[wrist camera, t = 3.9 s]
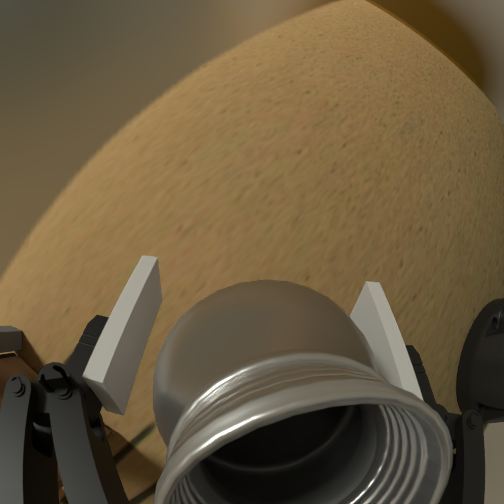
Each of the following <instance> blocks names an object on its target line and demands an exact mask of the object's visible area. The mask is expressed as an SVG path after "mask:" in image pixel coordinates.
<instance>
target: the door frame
mask: <svg viewBox="0 0 504 504" xmlns="http://www.w3.org/2000/svg"><path fill="white" fill-rule="evenodd" d="M17 350H22V331H21V330H19V329H16V328H14V327H12V326H0V353H4V352H11V351H17Z"/></svg>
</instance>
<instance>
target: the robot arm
mask: <svg viewBox="0 0 504 504" xmlns="http://www.w3.org/2000/svg"><path fill="white" fill-rule="evenodd" d="M161 303H162V293H161V284H160V275H159V265H158V257H152V256H145V255H142V257H141V259H140V261H139V262H138V264H137V266H136V268H135V269H134V271H133V273H132V275H131V277H130V278H129V280H128V282H127V284H126V286H125V288H124V290H123V291H122V293H121V295H120V297H119V299H118V301H117V303H116V305H115V307H114V309H113V311H112V313H111V315H110V317H104V316H100V315H96V316H95V317H94V318H93V319H92V320H91V321H90V322H89V323H88V324H87V326H86V328H85V330H84V332H83V335H82V336H81V338H80V340H79V343H78V344H77V346H76V348H75V350H74V352H73V354H72V356H71V358H70V360H69V362H68V365H67V367H66V366H65V365H63V364H61V363H57V362H52V363H49V364H47V365H45V366H44V367H43V368H42V369H41V371H40V372H39V374H38V379H37V381H38V382H31V381H30V380H29V379H28V378H27V377H26V376H25V375H23V374H15V375H13V376H11V377H10V378H9V379H8V381H7V383H6V386H5V390H4V394H3V399H2V405H1V410H0V504H59V494H58V467H59V471H60V475H61V479H62V483H63V487H64V490H65V494H66V497H67V500H68V503H69V504H129V501H128V499H127V496H126V494H125V491H124V489H123V486H122V483H121V480H120V478H119V475H118V472H117V469H116V466H115V463H114V459H113V456H112V453H111V450H110V446H109V443H108V439H107V435H106V431H105V427H104V423H103V419H102V416H101V414H100V410H101V407H102V405H103V407H104V408H105V409H106V410H107V411H110V412H113V413H116V414H120V415H123V416H124V414H125V410H126V407H127V403H128V400H129V397H130V393H131V390H132V387H133V384H134V380H135V377H136V374H137V371H138V368H139V365H140V362H141V359H142V356H143V353H144V350H145V347H146V344H147V341H148V338H149V336H150V333H151V330H152V327H153V324H154V322H155V319H156V316H157V313H158V311H159V308H160V305H161ZM349 317H350V318H351V319H352V320H353V322H354V323H355V324H356V325H357V327H358V328H359V329H360V330H361V332H362V333H363V334H364V335H365V337H366V339H367V341H368V343H369V345H370V347H371V349H372V351H373V353H374V357H375V361H376V365H377V369H378V373H379V374H380V375H381V376H383V377H384V378H385V379H387V380H388V382H389V383H390V384H392V385H394V386H397V387H399V388H401V389H404V390H406V391H409V392H412V393H413V394H415V395H416V396H417V397H419V398H420V399H421V400H423V401H424V402H425V403H427V404H428V405H429V406H430V407H431V408H432V409H433V410H435V411H436V412H437V413H438V414H439V415H440V417H441V418H442V420H443V421H444V423H445V424H446V426H447V427H448V430H449V433H450V437H451V441H452V445H453V449H455V448H456V454H454V453H453V463H452V468H451V473H450V477H449V480H448V484H447V486H446V488H445V491H444V493H443V495H442V497H441V499H440V501H439V503H438V504H484V493H485V450H484V435H483V425H482V423H497V422H504V298H502V299H496V300H493V301H491V302H490V303H489V304H487V305H486V306H485V307H484V308H483V309H482V311H481V312H480V313H479V315H478V316H477V318H476V319H475V321H474V323H473V325H472V327H471V329H470V331H469V333H468V336H467V338H466V341H465V344H464V347H463V350H462V354H461V358H460V362H459V368H458V375H457V399H458V404H459V407H460V410H461V411H462V413H463V414H462V415H459V414H453V413H448V412H447V410H446V409H445V408H444V407H443V406H442V405H440V404H437V403H436V401H435V399H434V396H433V392H432V389H431V386H430V383H429V380H428V378H427V375H426V374H425V369H424V366H422V364H423V363H422V361H421V358H420V355H419V353H418V352H417V351H416V350H415V348H414V347H413V346H412V345H405V344H404V341H403V339H402V336H401V333H400V331H399V328H398V326H397V323H396V321H395V318H394V316H393V313H392V311H391V308H390V306H389V304H388V301H387V299H386V297H385V294H384V292H383V290H382V287H381V285H380V283H378V282H368V281H366V283H365V285H364V287H363V289H362V291H361V294H360V296H359V298H358V300H357V302H356V304H355V306H354V308H353V310H352V312H351V314H350V316H349Z"/></svg>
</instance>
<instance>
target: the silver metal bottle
mask: <svg viewBox="0 0 504 504" xmlns="http://www.w3.org/2000/svg"><path fill="white" fill-rule="evenodd" d="M153 409H154V414H155V418H156V422H157V426H158V430H159V432H160V434H161V436H162V438H163V440H164V442H165V444H166V446H167V448H168V450H167V455H166V465H165V467H164V470H163V472H162V474H161V476H160V478H159V480H158V482H157V486H156V492H155V498H154V504H438V503H439V501H440V499H441V497H442V495H443V493H444V491H445V488H446V486H447V484H448V480H449V477H450V473H451V468H452V463H453V445H452V441H451V437H450V433H449V430H448V427H447V426H446V424H445V423H444V421H443V420H442V418H441V417H440V415H439V414H438V413H437V412H436V411H435V410H433V409H432V408H431V407H430V406H429V405H428V404H427V403H425V402H424V401H423V400H421V399H420V398H419V397H417V396H416V395H415V394H413V393H412V392H409V391H406V390H404V389H401V388H399V387H397V386H394V385H392V384H390V383H389V382H388V380H387V379H385V378H384V377H383V376H381V375H380V374H379V373H378V369H377V365H376V361H375V357H374V353H373V351H372V349H371V347H370V345H369V343H368V341H367V339H366V337H365V335H364V334H363V333H362V332H361V330H360V329H359V328H358V327H357V325H356V324H355V323H354V322H353V320H352V319H351V318H350V317H349V315H348V314H347V313H346V312H345V311H344V310H343V309H342V308H341V307H340V306H338V305H337V304H336V303H335V302H333V301H332V300H331V299H330V298H328V297H327V296H325V295H323V294H321V293H319V292H317V291H315V290H313V289H311V288H309V287H306V286H302V285H299V284H295V283H291V282H288V281H276V280H258V281H250V282H242V283H238V284H235V285H232V286H230V287H227V288H224V289H221V290H218V291H216V292H215V293H213V294H211V295H209V296H208V297H206V298H204V299H203V300H201V301H199V302H198V303H196V304H195V305H194V306H193V307H192V308H191V309H190V310H189V311H187V312H186V313H185V314H184V315H183V316H182V317H181V318H180V319H179V320H178V322H177V323H176V324H175V326H174V327H173V329H172V330H171V331H170V333H169V334H168V335H167V337H166V339H165V342H164V344H163V346H162V348H161V350H160V353H159V355H158V358H157V363H156V367H155V372H154V377H153Z"/></svg>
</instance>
